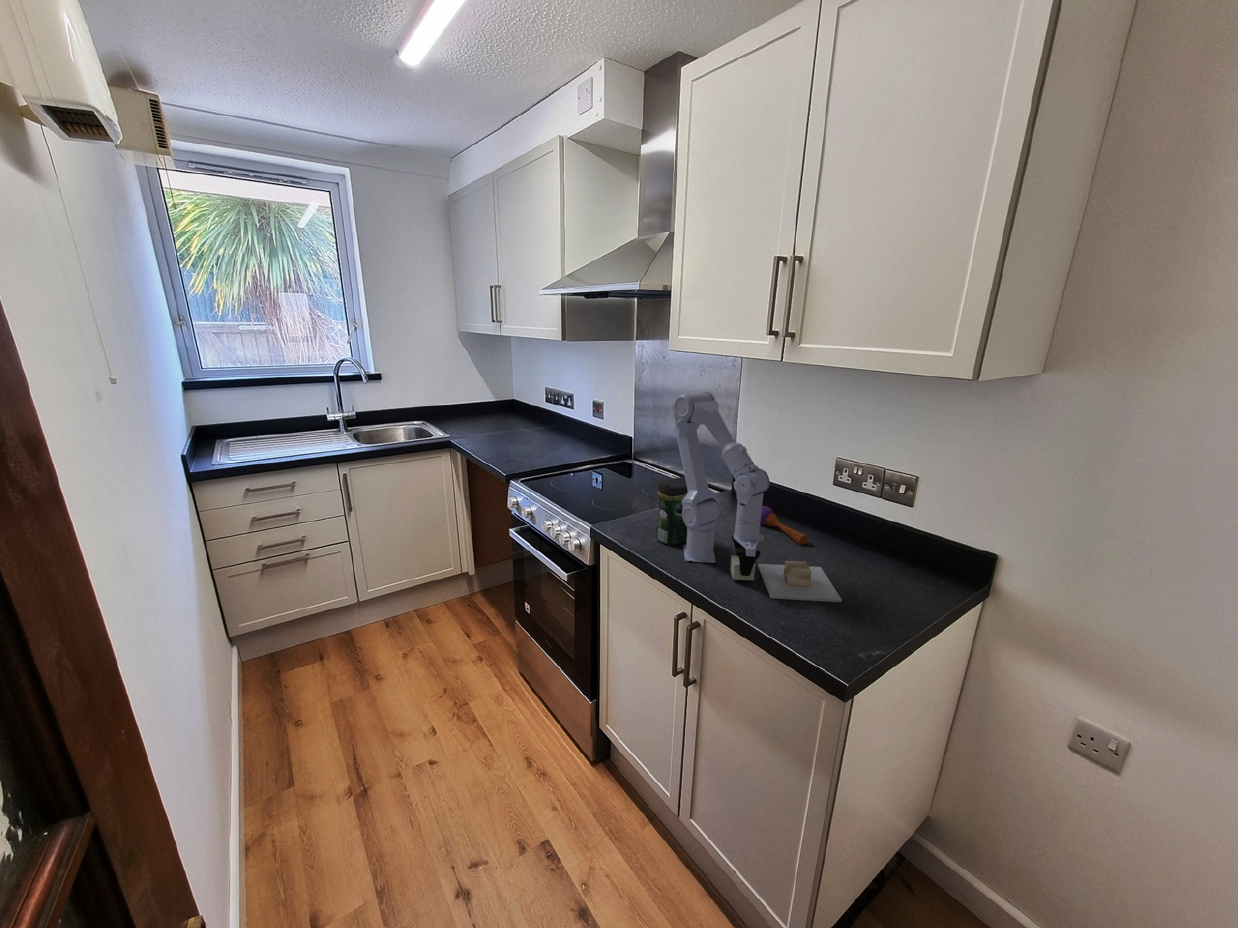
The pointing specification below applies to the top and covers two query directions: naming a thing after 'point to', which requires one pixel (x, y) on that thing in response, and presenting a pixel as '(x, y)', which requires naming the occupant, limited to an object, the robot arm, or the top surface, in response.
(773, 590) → the baseplate
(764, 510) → the maraca
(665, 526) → the coffee jar
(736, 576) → the sage block
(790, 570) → the beech block
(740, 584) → the top surface
